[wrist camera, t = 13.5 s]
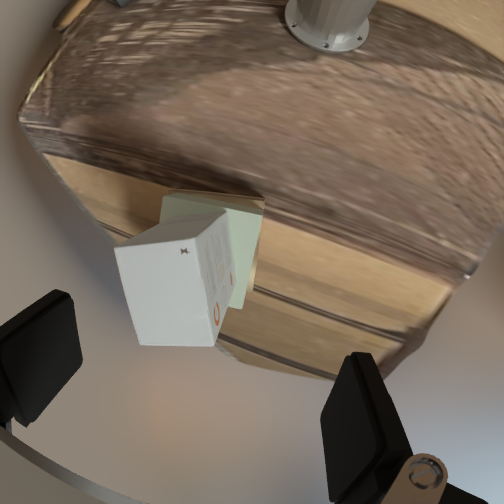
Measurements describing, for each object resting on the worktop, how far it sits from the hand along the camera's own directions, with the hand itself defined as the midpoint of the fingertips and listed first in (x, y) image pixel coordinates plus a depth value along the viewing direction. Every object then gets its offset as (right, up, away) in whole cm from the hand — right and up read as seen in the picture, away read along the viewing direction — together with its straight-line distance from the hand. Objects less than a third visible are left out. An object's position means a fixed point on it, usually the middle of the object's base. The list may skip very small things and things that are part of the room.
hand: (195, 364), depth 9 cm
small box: (-3, +4, +23) cm, 24 cm away
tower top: (-3, +5, +28) cm, 28 cm away
